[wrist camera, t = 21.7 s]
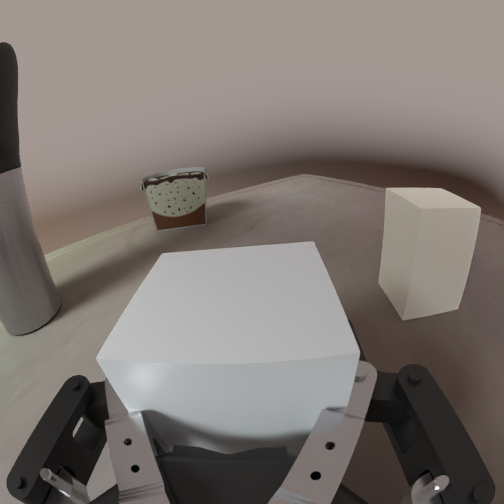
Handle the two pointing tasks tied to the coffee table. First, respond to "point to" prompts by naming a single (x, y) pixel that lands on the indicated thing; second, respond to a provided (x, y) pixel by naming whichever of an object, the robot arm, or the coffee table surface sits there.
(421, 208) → the cover
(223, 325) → the cover
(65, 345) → the coffee table surface
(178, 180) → the food container
